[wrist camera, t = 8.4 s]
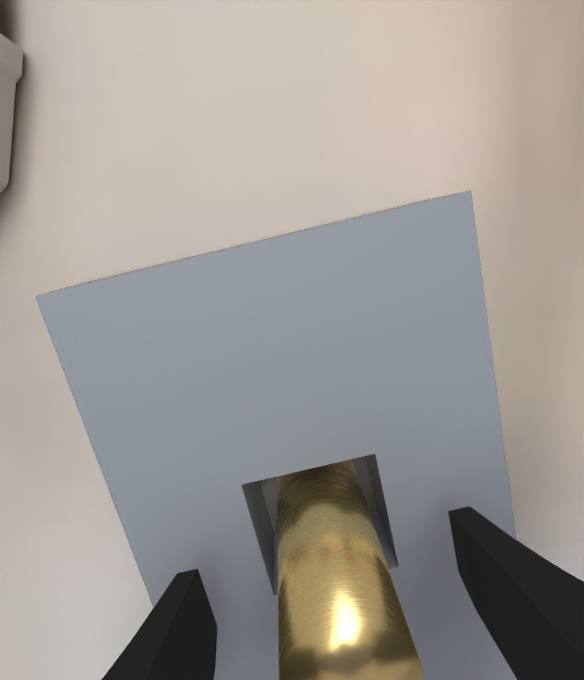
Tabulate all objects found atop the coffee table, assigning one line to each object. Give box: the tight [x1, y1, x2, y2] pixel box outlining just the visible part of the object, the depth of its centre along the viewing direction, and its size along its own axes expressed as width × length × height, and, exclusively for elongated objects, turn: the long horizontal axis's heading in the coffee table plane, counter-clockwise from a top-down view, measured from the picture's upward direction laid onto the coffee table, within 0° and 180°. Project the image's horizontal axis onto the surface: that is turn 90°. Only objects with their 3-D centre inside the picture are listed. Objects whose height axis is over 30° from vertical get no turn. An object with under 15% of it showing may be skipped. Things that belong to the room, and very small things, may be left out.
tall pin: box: [277, 459, 423, 680], centre depth 13 cm, size 3×3×8 cm
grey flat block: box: [35, 191, 517, 680], centre depth 15 cm, size 18×12×3 cm, turn 13°
